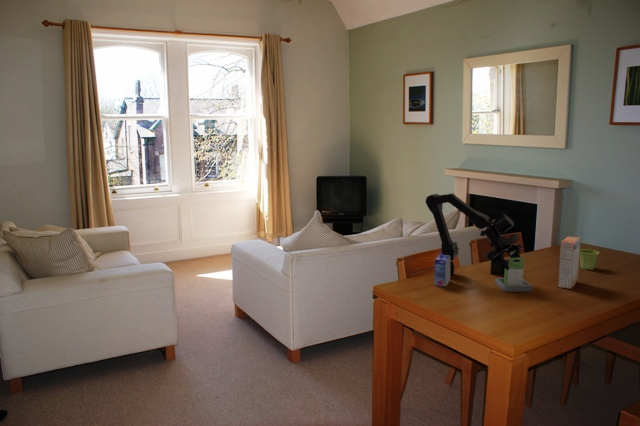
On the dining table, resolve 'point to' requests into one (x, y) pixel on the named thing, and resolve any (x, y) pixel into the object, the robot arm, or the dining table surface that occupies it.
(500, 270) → the digital camera
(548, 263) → the dining table surface
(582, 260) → the plant pot
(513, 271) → the ink box
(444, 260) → the ink cartridge box
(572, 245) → the cracker box
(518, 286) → the tray
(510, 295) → the dining table surface
